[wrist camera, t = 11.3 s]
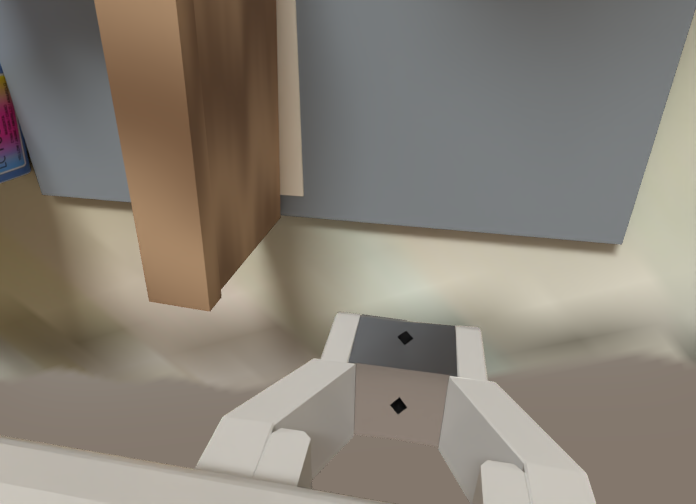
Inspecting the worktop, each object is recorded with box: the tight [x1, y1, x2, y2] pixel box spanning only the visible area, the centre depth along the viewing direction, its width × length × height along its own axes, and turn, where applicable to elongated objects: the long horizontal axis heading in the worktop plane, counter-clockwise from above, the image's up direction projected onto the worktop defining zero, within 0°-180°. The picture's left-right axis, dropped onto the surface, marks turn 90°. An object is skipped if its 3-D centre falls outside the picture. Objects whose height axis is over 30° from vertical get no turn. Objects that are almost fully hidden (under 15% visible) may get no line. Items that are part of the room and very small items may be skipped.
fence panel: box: [94, 0, 281, 311], centre depth 14 cm, size 13×2×7 cm, turn 176°
